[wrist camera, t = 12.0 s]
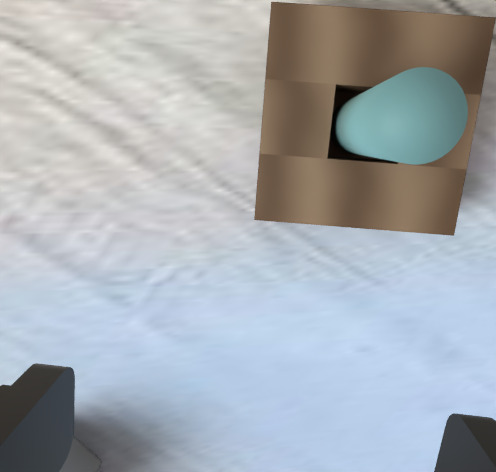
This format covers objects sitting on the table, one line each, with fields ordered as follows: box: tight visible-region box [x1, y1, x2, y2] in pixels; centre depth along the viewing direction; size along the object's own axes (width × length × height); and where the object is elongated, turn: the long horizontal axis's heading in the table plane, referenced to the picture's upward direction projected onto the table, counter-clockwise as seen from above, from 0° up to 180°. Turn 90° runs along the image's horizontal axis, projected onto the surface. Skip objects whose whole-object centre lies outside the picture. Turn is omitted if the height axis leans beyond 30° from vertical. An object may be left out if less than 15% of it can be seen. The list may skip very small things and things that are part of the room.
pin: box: [330, 67, 468, 165], centre depth 26 cm, size 4×4×15 cm
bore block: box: [254, 2, 496, 235], centre depth 31 cm, size 14×14×6 cm
